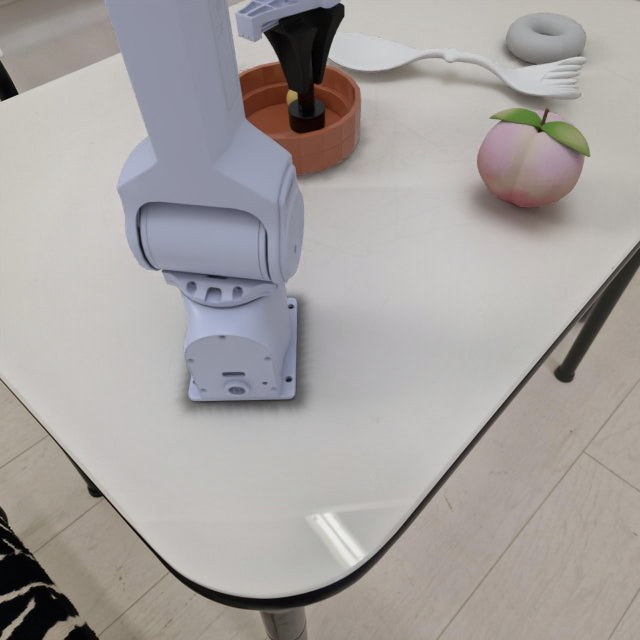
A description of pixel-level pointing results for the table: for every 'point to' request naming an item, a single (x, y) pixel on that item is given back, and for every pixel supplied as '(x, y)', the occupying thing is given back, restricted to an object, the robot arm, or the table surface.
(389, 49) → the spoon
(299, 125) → the black joystick
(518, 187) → the decorative fruit
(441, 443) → the table surface
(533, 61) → the donut
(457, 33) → the table surface
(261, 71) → the bowl
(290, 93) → the ball
